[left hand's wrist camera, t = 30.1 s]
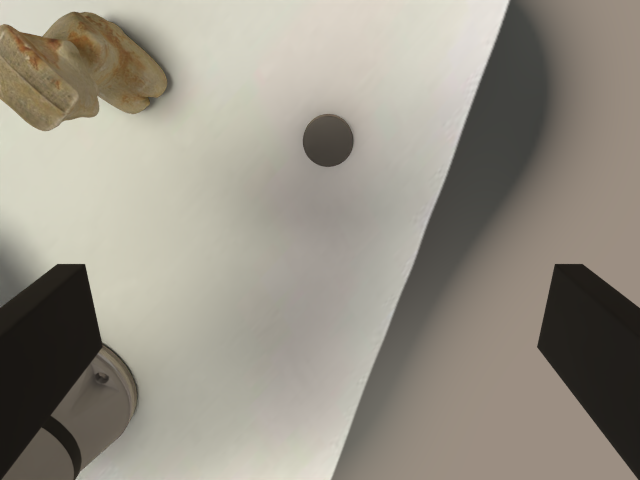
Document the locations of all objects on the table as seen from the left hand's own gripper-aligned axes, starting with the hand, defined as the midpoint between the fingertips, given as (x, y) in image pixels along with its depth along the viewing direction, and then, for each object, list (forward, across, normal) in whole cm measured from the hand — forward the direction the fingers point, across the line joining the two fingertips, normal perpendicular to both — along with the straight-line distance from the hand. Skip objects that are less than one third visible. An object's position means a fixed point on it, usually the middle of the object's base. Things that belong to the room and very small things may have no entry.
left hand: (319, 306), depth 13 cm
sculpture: (+28, +16, -6) cm, 33 cm away
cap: (+27, -1, 0) cm, 27 cm away
